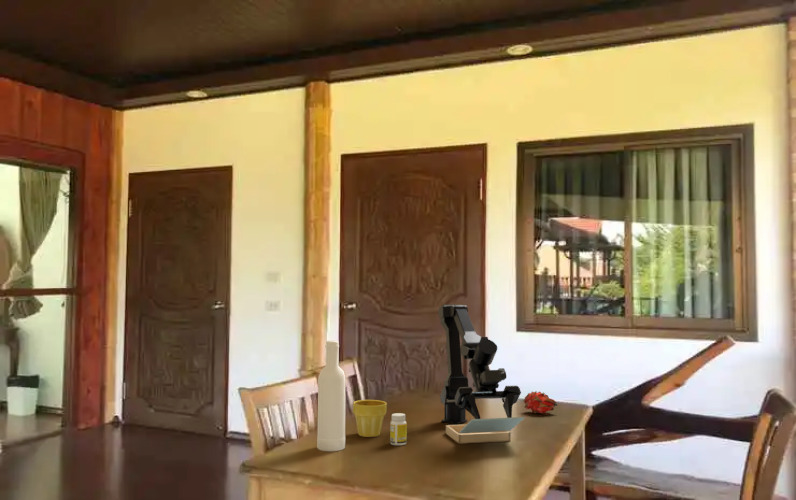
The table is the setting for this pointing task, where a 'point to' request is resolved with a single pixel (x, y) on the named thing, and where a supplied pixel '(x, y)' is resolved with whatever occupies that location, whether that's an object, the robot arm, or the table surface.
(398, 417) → the supplement bottle
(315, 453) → the table surface
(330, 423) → the bottle
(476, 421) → the lid
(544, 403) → the dragon fruit
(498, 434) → the wooden tray
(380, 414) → the plant pot
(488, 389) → the robot arm
